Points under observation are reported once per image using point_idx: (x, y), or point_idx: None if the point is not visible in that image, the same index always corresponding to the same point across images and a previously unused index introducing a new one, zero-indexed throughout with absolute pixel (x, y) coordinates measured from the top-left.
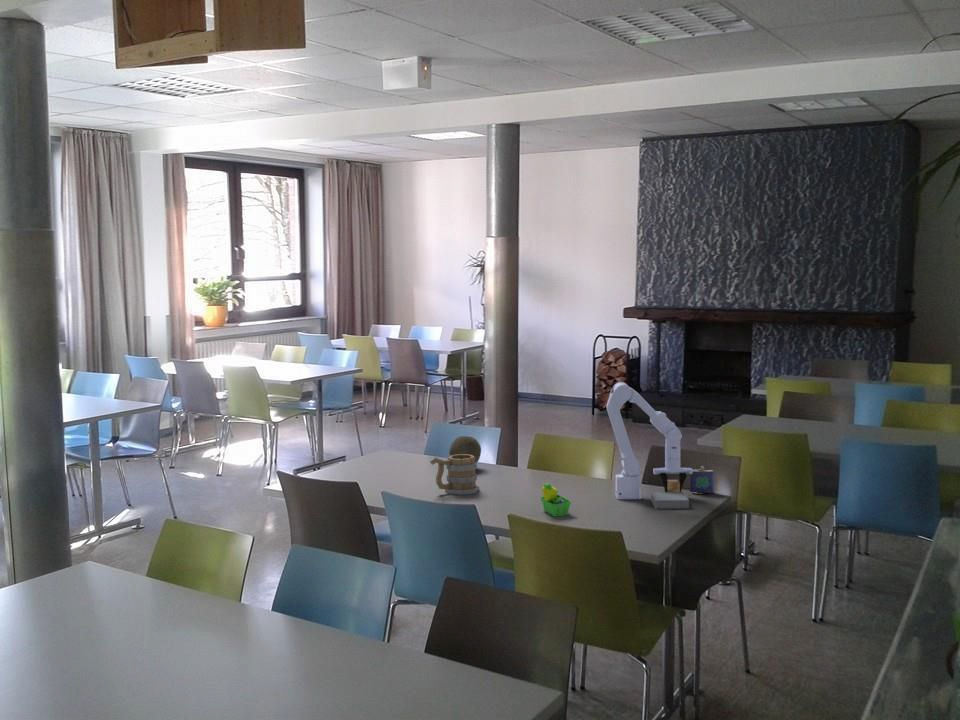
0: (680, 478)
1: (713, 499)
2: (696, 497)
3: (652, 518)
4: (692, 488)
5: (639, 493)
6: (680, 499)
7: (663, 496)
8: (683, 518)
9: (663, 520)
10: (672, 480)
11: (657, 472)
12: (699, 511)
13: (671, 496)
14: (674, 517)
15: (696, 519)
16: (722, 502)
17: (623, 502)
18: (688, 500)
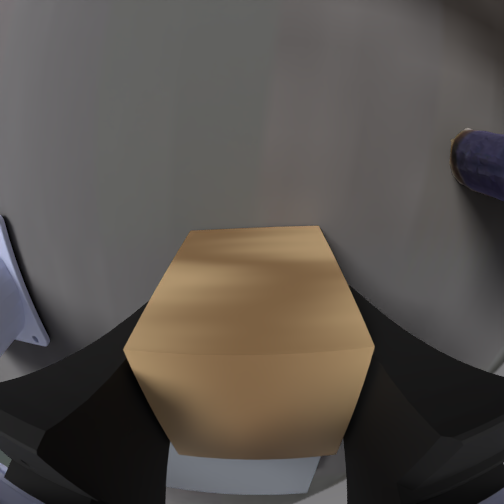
0: (349, 501)
1: (495, 331)
2: (444, 296)
3: (167, 491)
4: (493, 196)
5: (13, 328)
6: (267, 491)
7: (176, 466)
8: (256, 500)
9: (199, 500)
10: (253, 392)
11: (5, 486)
12: (331, 473)
13: (223, 471)
14: (230, 496)
15: (292, 501)
16: (490, 372)
17: (12, 364)
18: (304, 491)
